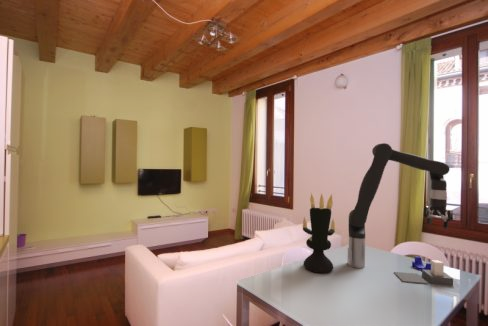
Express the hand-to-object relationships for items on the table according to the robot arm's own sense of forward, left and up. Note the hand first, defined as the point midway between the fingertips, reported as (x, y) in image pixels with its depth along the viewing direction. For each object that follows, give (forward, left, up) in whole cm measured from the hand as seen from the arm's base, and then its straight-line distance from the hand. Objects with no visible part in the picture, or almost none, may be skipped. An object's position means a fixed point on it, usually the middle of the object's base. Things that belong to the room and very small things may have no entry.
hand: (437, 226), depth 152 cm
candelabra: (-65, -9, -27) cm, 71 cm away
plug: (-5, -11, -26) cm, 29 cm away
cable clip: (-6, +3, -27) cm, 28 cm away
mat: (-18, -11, -26) cm, 34 cm away
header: (-5, -11, -26) cm, 29 cm away
